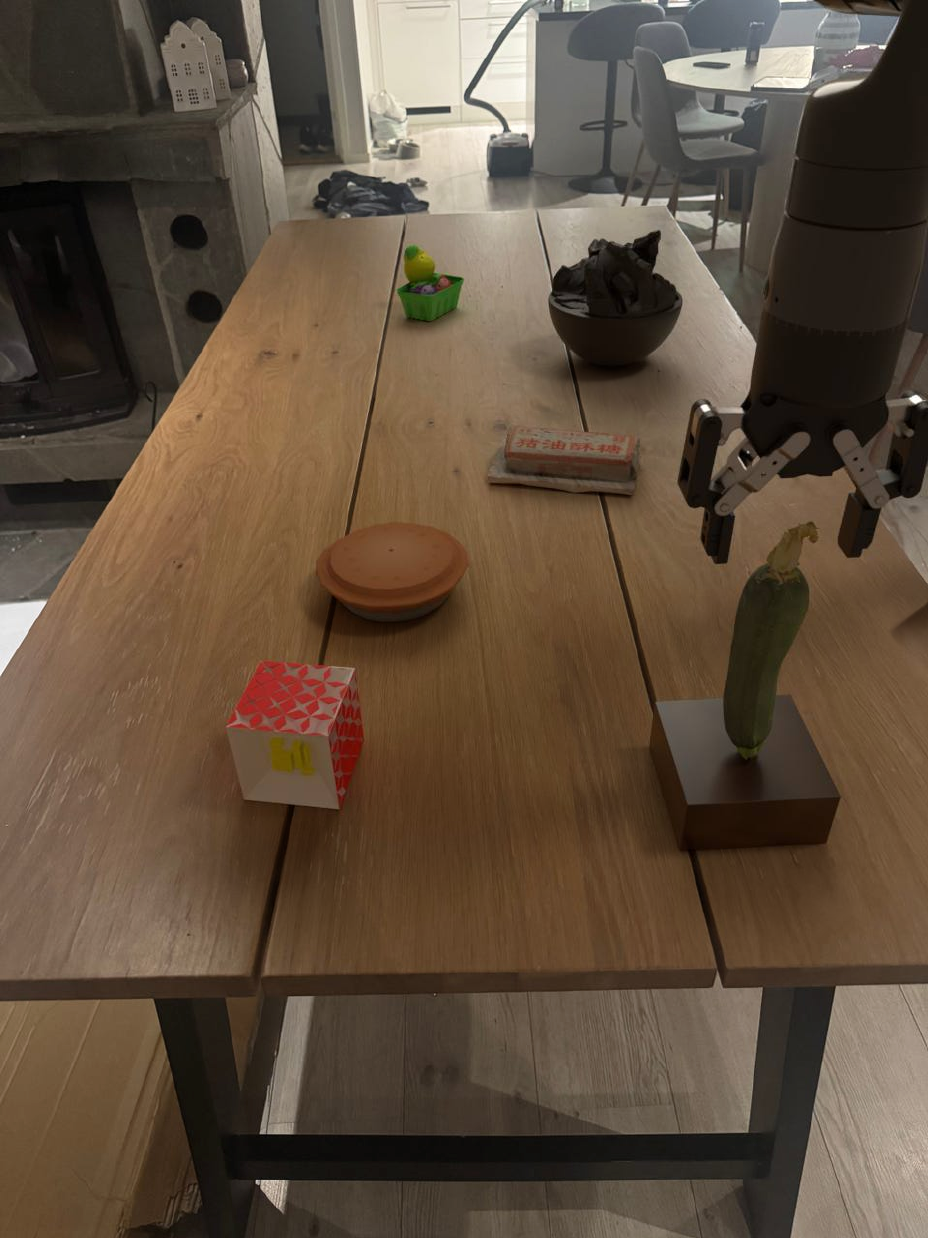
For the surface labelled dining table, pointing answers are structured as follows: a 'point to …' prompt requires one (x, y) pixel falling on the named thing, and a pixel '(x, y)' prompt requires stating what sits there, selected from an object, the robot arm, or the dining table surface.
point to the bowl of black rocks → (614, 302)
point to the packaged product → (568, 460)
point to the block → (740, 779)
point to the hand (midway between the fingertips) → (782, 554)
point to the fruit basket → (427, 287)
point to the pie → (392, 570)
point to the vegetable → (764, 640)
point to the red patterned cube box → (297, 734)
